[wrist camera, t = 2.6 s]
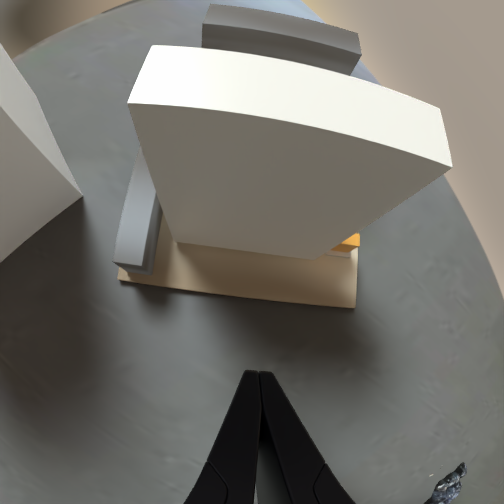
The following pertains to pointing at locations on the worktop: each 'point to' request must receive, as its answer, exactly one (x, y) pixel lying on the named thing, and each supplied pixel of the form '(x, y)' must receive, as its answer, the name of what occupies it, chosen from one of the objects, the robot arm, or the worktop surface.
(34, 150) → the milk
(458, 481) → the blueberries
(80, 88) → the worktop surface
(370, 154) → the white rectangular slab
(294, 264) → the gauge bench
